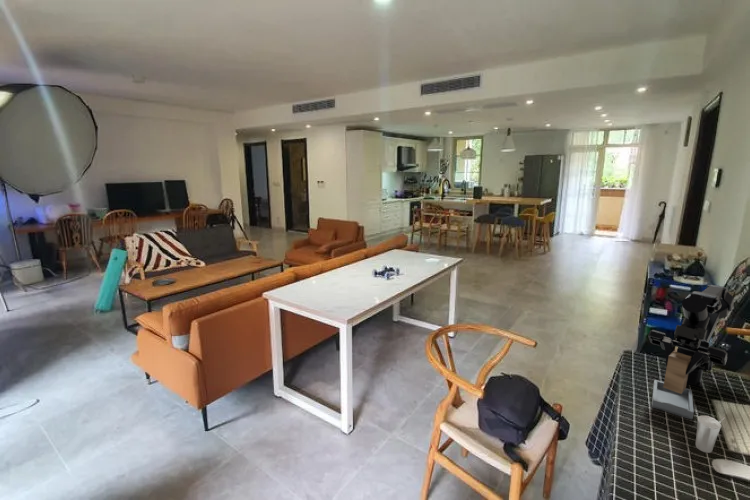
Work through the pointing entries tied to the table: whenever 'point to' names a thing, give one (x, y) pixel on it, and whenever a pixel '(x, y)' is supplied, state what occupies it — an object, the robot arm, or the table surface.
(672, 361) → the block
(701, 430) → the milkshake
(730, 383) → the table surface
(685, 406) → the tray
